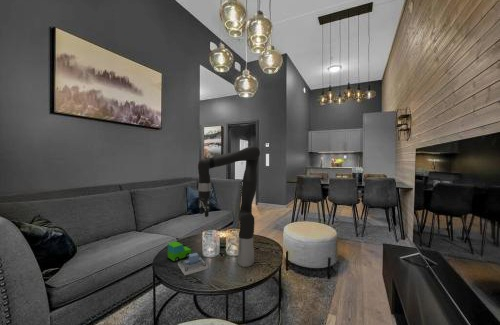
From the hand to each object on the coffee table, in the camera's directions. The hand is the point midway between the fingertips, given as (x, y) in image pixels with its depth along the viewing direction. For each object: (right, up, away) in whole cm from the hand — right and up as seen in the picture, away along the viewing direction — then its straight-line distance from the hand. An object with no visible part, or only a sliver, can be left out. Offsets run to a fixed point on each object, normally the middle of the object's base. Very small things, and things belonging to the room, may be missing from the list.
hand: (204, 215), depth 137 cm
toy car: (-17, -30, +6) cm, 35 cm away
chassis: (-6, -30, -7) cm, 31 cm away
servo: (-5, -28, -6) cm, 29 cm away
